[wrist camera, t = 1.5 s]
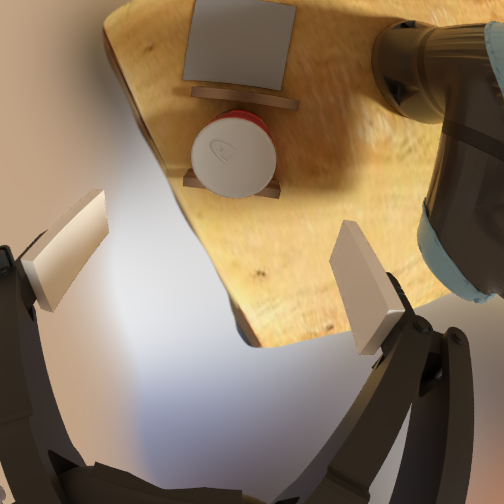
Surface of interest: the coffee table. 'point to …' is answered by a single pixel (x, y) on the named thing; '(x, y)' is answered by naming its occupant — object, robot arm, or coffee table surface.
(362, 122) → the coffee table surface
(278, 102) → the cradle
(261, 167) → the canned food
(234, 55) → the mat
